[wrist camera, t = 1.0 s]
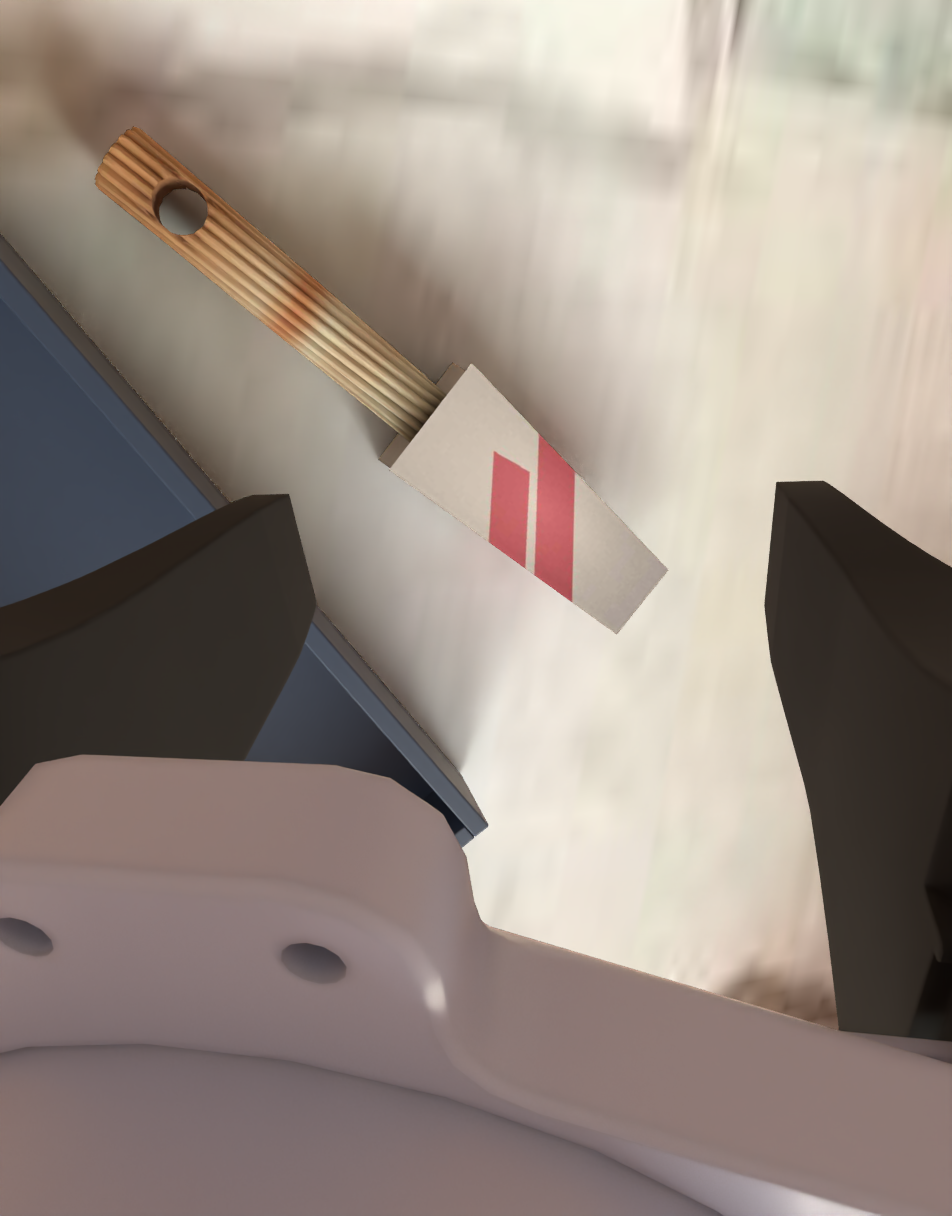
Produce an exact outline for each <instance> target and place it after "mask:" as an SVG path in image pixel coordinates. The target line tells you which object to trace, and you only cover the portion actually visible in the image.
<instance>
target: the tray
mask: <svg viewBox="0 0 952 1216" xmlns="http://www.w3.org/2000/svg"><path fill="white" fill-rule="evenodd" d="M228 504H230V503H229V501H228V500H227V499H226V498H225V497H224V496H223V494H222V493H221V492H220V491H219V490H218V488H217V487H216V486H215V485H214V484H213V483H212V481H211V480H210V479H209V478H208V477H207V476H206V474H205V473H204V472H203V471H202V470H201V468H200V467H199V466H198V465H197V464H196V463H195V461H194V460H193V459H192V458H191V457H190V456H189V454H188V453H187V452H186V451H185V450H184V449H183V447H182V446H181V445H180V444H179V443H178V441H177V440H176V439H175V438H174V437H173V436H172V434H171V433H170V432H169V431H168V430H167V429H166V427H165V426H164V425H163V424H162V423H161V421H160V420H159V419H158V418H157V417H156V416H155V414H154V413H153V412H152V411H151V410H150V409H149V407H148V406H147V405H146V404H145V403H144V402H143V400H142V399H141V398H140V397H139V396H138V394H137V393H136V392H135V391H134V390H133V389H132V387H131V386H130V385H129V384H128V383H127V382H126V380H125V379H124V378H123V377H122V376H121V375H120V373H119V372H118V371H117V370H116V369H115V367H114V366H113V365H112V364H111V363H110V362H109V360H108V359H107V358H106V357H105V356H104V355H103V353H102V352H101V351H100V350H99V349H98V347H97V346H96V345H95V344H94V343H93V342H92V340H91V339H90V338H89V337H88V336H87V335H86V333H85V332H84V331H83V330H82V329H81V328H80V326H79V325H78V324H77V323H76V322H75V320H74V319H73V318H72V317H71V316H70V315H69V313H68V312H67V311H66V310H65V309H64V308H63V306H62V305H61V304H60V303H59V302H58V300H57V299H56V298H55V297H54V296H53V295H52V293H51V292H50V291H49V290H48V289H47V288H46V286H45V285H44V284H43V283H42V282H41V281H40V279H39V278H38V277H37V276H36V275H35V273H34V272H33V271H32V270H31V269H30V268H29V266H28V265H27V264H26V263H25V262H24V261H23V259H22V258H21V257H20V256H19V255H18V253H17V252H16V251H15V250H14V249H13V248H12V246H11V245H10V244H9V243H8V242H7V241H6V239H5V238H4V237H3V236H2V235H1V234H0V607H3V606H6V605H9V604H13V603H15V602H18V601H21V600H24V599H27V598H29V597H32V596H35V595H37V594H40V593H42V592H45V591H48V590H50V589H53V588H55V587H58V586H61V585H63V584H65V583H68V582H70V581H73V580H75V579H77V578H80V577H82V576H84V575H86V574H89V573H91V572H93V571H95V570H97V569H99V568H101V567H104V566H106V565H108V564H110V563H112V562H114V561H116V560H118V559H120V558H122V557H124V556H126V555H128V554H130V553H133V552H135V551H137V550H139V549H141V548H143V547H145V546H147V545H149V544H151V543H153V542H155V541H157V540H159V539H161V538H162V537H164V536H166V535H168V534H170V533H172V532H174V531H176V530H178V529H180V528H182V527H184V526H186V525H187V524H189V523H191V522H193V521H195V520H197V519H199V518H201V517H203V516H205V515H207V514H209V513H211V512H213V511H215V510H217V509H219V508H221V507H223V506H225V505H228ZM244 761H251V762H275V763H299V764H323V765H337V766H341V767H345V768H349V769H354V770H358V771H362V772H366V773H371V774H375V775H379V776H384V777H388V778H391V779H393V780H394V781H396V782H397V783H398V784H400V785H401V786H403V787H404V788H406V789H407V790H409V791H410V792H412V793H413V794H415V795H416V796H418V797H419V798H421V799H422V800H424V801H425V802H427V803H428V804H430V805H431V806H432V807H434V808H435V809H437V810H438V811H439V812H441V813H442V814H443V815H444V817H445V819H446V821H447V823H448V824H449V826H450V828H451V830H452V832H453V833H454V835H455V837H456V839H457V841H458V842H459V844H460V846H461V848H462V847H464V846H465V845H466V844H467V843H469V842H470V841H471V840H472V839H473V838H474V836H477V835H478V834H479V833H481V832H482V831H483V830H484V829H486V828H487V827H488V823H487V821H486V819H485V818H484V816H483V814H482V812H481V810H480V808H479V807H478V805H477V803H476V801H475V799H474V797H473V796H472V794H471V792H470V790H469V788H468V786H467V785H466V783H465V781H464V779H463V777H462V775H461V774H460V773H459V772H458V770H457V769H456V768H455V767H454V766H453V765H452V763H451V762H450V761H449V760H448V759H447V758H446V756H445V755H444V754H443V753H442V752H441V750H440V749H439V748H438V747H437V746H436V745H435V743H434V742H433V741H432V740H431V739H430V738H429V736H428V735H427V734H426V733H425V732H424V730H423V729H422V728H421V727H420V726H419V725H418V723H417V722H416V721H415V720H414V719H413V718H412V716H411V715H410V714H409V713H408V712H407V711H406V709H405V708H404V707H403V706H402V705H401V703H400V702H399V701H398V700H397V699H396V698H395V696H394V695H393V694H392V693H391V692H390V691H389V689H388V688H387V687H386V686H385V685H384V683H383V682H382V681H381V680H380V679H379V678H378V676H377V675H376V674H375V673H374V672H373V671H372V669H371V668H370V667H369V666H368V665H367V664H366V662H365V661H364V660H363V659H362V658H361V656H360V655H359V654H358V653H357V652H356V651H355V649H354V648H353V647H352V646H351V645H350V644H349V642H348V641H347V640H346V639H345V638H344V637H343V635H342V634H341V633H340V632H339V631H338V629H337V628H336V627H335V626H334V625H333V624H332V622H331V621H330V620H329V619H328V618H327V617H326V615H325V614H324V613H323V612H322V611H321V609H320V608H319V607H318V606H316V609H315V612H314V616H313V619H312V622H311V625H310V628H309V632H308V634H307V637H306V640H305V643H304V646H303V648H302V651H301V654H300V656H299V658H298V660H297V662H296V664H295V666H294V668H293V670H292V672H291V674H290V676H289V678H288V680H287V682H286V684H285V685H284V687H283V689H282V691H281V693H280V695H279V697H278V699H277V701H276V703H275V704H274V706H273V708H272V710H271V712H270V714H269V716H268V717H267V719H266V721H265V723H264V725H263V727H262V729H261V731H260V732H259V734H258V736H257V738H256V740H255V742H254V744H253V745H252V747H251V749H250V751H249V753H248V755H247V757H246V759H245V760H244Z"/></svg>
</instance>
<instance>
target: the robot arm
mask: <svg viewBox="0 0 952 1216" xmlns="http://www.w3.org/2000/svg"><path fill="white" fill-rule="evenodd" d="M316 606H317V602H316V598H315V594H314V591H313V587H312V583H311V579H310V575H309V571H308V567H307V563H306V559H305V555H304V551H303V547H302V543H301V539H300V535H299V531H298V528H297V524H296V520H295V516H294V512H293V508H292V504H291V500H290V496H289V494H276V495H252V496H248V497H245V498H242V499H240V500H237V501H235V502H232V503H230V504H228V505H225V506H223V507H221V508H219V509H217V510H215V511H213V512H211V513H209V514H207V515H205V516H203V517H201V518H199V519H197V520H195V521H193V522H191V523H189V524H187V525H186V526H184V527H182V528H180V529H178V530H176V531H174V532H172V533H170V534H168V535H166V536H164V537H162V538H161V539H159V540H157V541H155V542H153V543H151V544H149V545H147V546H145V547H143V548H141V549H139V550H137V551H135V552H133V553H130V554H128V555H126V556H124V557H122V558H120V559H118V560H116V561H114V562H112V563H110V564H108V565H106V566H104V567H101V568H99V569H97V570H95V571H93V572H91V573H89V574H86V575H84V576H82V577H80V578H77V579H75V580H73V581H70V582H68V583H65V584H63V585H61V586H58V587H55V588H53V589H50V590H48V591H45V592H42V593H40V594H37V595H35V596H32V597H29V598H27V599H24V600H21V601H18V602H15V603H13V604H9V605H6V606H3V607H0V1216H952V567H950V566H948V565H947V564H945V563H943V562H941V561H940V560H938V559H936V558H935V557H933V556H931V555H930V554H928V553H926V552H925V551H923V550H922V549H920V548H919V547H917V546H916V545H914V544H912V543H911V542H909V541H908V540H906V539H905V538H903V537H902V536H900V535H899V534H897V533H896V532H895V531H893V530H892V529H890V528H889V527H887V526H886V525H885V524H883V523H882V522H880V521H879V520H878V519H876V518H875V517H874V516H872V515H871V514H869V513H868V512H867V511H865V510H864V509H863V508H861V507H860V506H859V505H857V504H856V503H855V502H853V501H852V500H851V499H849V498H848V497H847V496H845V495H844V494H842V493H841V492H840V491H838V490H837V489H835V488H834V487H833V486H831V485H830V484H828V483H826V482H824V481H797V482H776V491H775V502H774V512H773V522H772V532H771V543H770V553H769V563H768V574H767V584H766V594H765V605H764V606H765V615H766V624H767V633H768V642H769V650H770V658H771V663H772V667H773V671H774V675H775V679H776V683H777V686H778V690H779V694H780V697H781V701H782V705H783V709H784V712H785V716H786V719H787V723H788V727H789V730H790V734H791V738H792V741H793V745H794V748H795V752H796V756H797V759H798V763H799V767H800V770H801V774H802V777H803V781H804V785H805V789H806V794H807V799H808V803H809V808H810V812H811V819H812V826H813V832H814V839H815V846H816V853H817V859H818V866H819V873H820V880H821V888H822V895H823V903H824V910H825V918H826V925H827V933H828V940H829V949H830V957H831V966H832V974H833V983H834V991H835V1000H836V1008H837V1017H838V1025H839V1030H836V1029H833V1028H829V1027H826V1026H823V1025H819V1024H816V1023H812V1022H809V1021H806V1020H802V1019H799V1018H796V1017H792V1016H789V1015H786V1014H782V1013H779V1012H776V1011H772V1010H769V1009H765V1008H762V1007H759V1006H755V1005H752V1004H749V1003H745V1002H742V1001H739V1000H735V999H732V998H729V997H725V996H722V995H719V994H715V993H712V992H708V991H705V990H702V989H698V988H695V987H692V986H688V985H685V984H682V983H678V982H675V981H672V980H668V979H665V978H661V977H658V976H655V975H651V974H648V973H645V972H641V971H638V970H635V969H631V968H628V967H625V966H621V965H618V964H615V963H611V962H608V961H604V960H601V959H598V958H594V957H591V956H588V955H584V954H581V953H578V952H574V951H571V950H568V949H564V948H561V947H557V946H554V945H551V944H547V943H544V942H541V941H537V940H534V939H531V938H527V937H524V936H521V935H517V934H514V933H510V932H507V931H504V930H500V929H497V928H494V927H490V926H488V925H487V924H485V923H484V922H482V920H481V919H480V916H479V913H478V910H477V908H476V905H475V902H474V898H473V892H472V886H471V881H470V875H469V869H468V863H467V857H466V855H465V853H464V852H463V850H462V848H461V846H460V844H459V842H458V841H457V839H456V837H455V835H454V833H453V832H452V830H451V828H450V826H449V824H448V823H447V821H446V819H445V817H444V815H443V814H442V813H441V812H439V811H438V810H437V809H435V808H434V807H432V806H431V805H430V804H428V803H427V802H425V801H424V800H422V799H421V798H419V797H418V796H416V795H415V794H413V793H412V792H410V791H409V790H407V789H406V788H404V787H403V786H401V785H400V784H398V783H397V782H396V781H394V780H393V779H391V778H388V777H384V776H379V775H375V774H371V773H366V772H362V771H358V770H354V769H349V768H345V767H341V766H337V765H323V764H299V763H275V762H251V761H244V760H245V759H246V757H247V755H248V753H249V751H250V749H251V747H252V745H253V744H254V742H255V740H256V738H257V736H258V734H259V732H260V731H261V729H262V727H263V725H264V723H265V721H266V719H267V717H268V716H269V714H270V712H271V710H272V708H273V706H274V704H275V703H276V701H277V699H278V697H279V695H280V693H281V691H282V689H283V687H284V685H285V684H286V682H287V680H288V678H289V676H290V674H291V672H292V670H293V668H294V666H295V664H296V662H297V660H298V658H299V656H300V654H301V651H302V648H303V646H304V643H305V640H306V637H307V634H308V632H309V628H310V625H311V622H312V619H313V616H314V612H315V609H316Z"/></svg>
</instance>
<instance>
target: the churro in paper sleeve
mask: <svg viewBox="0 0 952 1216" xmlns="http://www.w3.org/2000/svg"><path fill="white" fill-rule="evenodd" d="M97 171H98V173H97V175H96V176H95V180H96V182H95V185H96V186H97V187H98V189H99V190H101V191H102V192H103V193H104V194H106V195H107V196H108V197H109V198H110V199H112V200H113V201H114V202H115V203H117V204H118V205H119V206H120V207H122V208H123V209H124V210H125V211H127V212H128V213H129V214H130V215H132V216H133V217H134V218H135V219H137V220H138V221H139V222H140V223H142V224H143V225H144V226H145V227H147V228H148V229H149V230H150V231H152V232H153V233H154V234H155V235H157V236H158V237H159V238H160V239H162V240H163V241H164V242H165V243H166V244H168V245H169V246H170V247H171V248H172V249H174V250H175V251H176V252H177V253H179V254H180V255H181V256H182V257H183V258H185V259H186V260H187V261H188V262H190V263H191V264H192V265H193V266H194V267H196V268H197V269H198V270H199V271H200V272H202V273H203V274H204V275H205V276H207V277H208V278H209V279H210V280H211V281H213V282H214V283H215V284H216V285H218V286H219V287H220V288H221V289H222V290H224V291H225V292H226V293H227V294H229V295H230V296H231V297H232V298H233V299H235V300H236V301H237V302H238V303H239V304H241V305H242V306H243V307H244V308H246V309H247V310H248V311H249V312H250V313H252V314H253V315H254V316H255V317H257V318H258V319H259V320H260V321H262V322H263V323H264V324H265V325H266V326H268V327H269V328H270V329H271V330H273V331H274V332H275V333H276V334H278V335H279V336H280V337H281V338H282V339H284V340H285V341H286V342H287V343H289V344H290V345H291V346H292V347H293V348H295V349H296V350H297V351H298V352H300V353H301V354H302V355H303V356H305V357H306V358H307V359H308V360H309V361H311V362H312V363H313V364H314V365H316V366H317V367H318V368H319V369H321V370H322V371H323V372H324V373H325V374H327V375H328V376H329V377H330V378H332V379H333V380H334V381H335V382H337V383H338V384H339V385H340V386H341V387H343V388H344V389H345V390H346V391H348V392H349V393H350V394H351V395H352V396H354V397H355V398H356V399H357V400H359V401H360V402H361V403H362V404H364V405H365V406H366V407H367V408H369V409H370V410H371V411H372V412H373V413H375V414H376V415H377V416H378V417H380V418H381V419H382V420H383V421H385V422H386V423H387V424H388V425H390V426H391V427H392V428H393V429H394V430H396V431H397V432H398V434H397V435H396V437H395V438H394V439H393V441H392V442H391V443H390V444H389V446H388V447H387V448H386V450H385V451H384V452H383V454H382V455H381V456H380V457H379V459H378V460H380V461H381V462H383V463H384V464H385V465H387V466H388V467H389V468H390V469H389V470H390V471H391V472H393V473H394V474H395V475H397V476H398V477H399V478H401V479H402V480H404V481H405V482H406V483H408V484H409V485H411V486H412V487H413V488H415V489H416V490H417V491H419V492H420V493H422V494H423V495H424V496H426V497H427V498H429V499H430V500H431V501H433V502H434V503H435V504H437V505H438V506H440V507H441V508H442V509H444V510H445V511H447V512H448V513H449V514H451V515H452V516H453V517H455V518H456V519H458V520H459V521H460V522H462V523H463V524H465V525H466V526H467V527H469V528H470V529H471V530H473V531H474V532H476V533H477V534H478V535H480V536H481V537H483V538H484V539H485V540H487V541H488V542H489V543H491V544H492V545H494V546H495V547H496V548H498V549H499V550H501V551H502V552H503V553H505V554H506V555H507V556H509V557H510V558H512V559H513V560H514V561H516V562H517V563H519V564H520V565H521V566H523V567H524V568H525V569H527V570H528V571H530V572H531V573H532V574H534V575H535V576H537V577H538V578H539V579H541V580H542V581H543V582H545V583H546V584H548V585H549V586H550V587H552V588H553V589H555V590H556V591H557V592H559V593H560V594H561V595H563V596H564V597H566V598H567V599H568V600H570V601H571V602H573V603H574V604H575V605H577V606H578V607H579V608H581V609H582V610H584V611H585V612H586V613H588V614H589V615H591V616H592V617H593V618H595V619H596V620H597V621H599V622H600V623H602V624H603V625H604V626H606V627H607V628H609V629H610V630H611V631H613V632H614V633H615V634H617V633H618V632H619V631H620V630H621V628H622V627H623V626H624V625H625V623H626V622H627V621H628V620H629V618H630V617H631V616H632V615H633V613H634V612H635V611H636V610H637V608H638V607H639V606H640V605H641V603H642V602H643V601H644V600H645V598H646V597H647V596H648V595H649V593H650V592H651V591H652V590H653V588H654V587H655V586H656V585H657V583H658V582H659V581H660V580H661V578H662V577H663V576H664V575H665V574H666V572H667V571H668V569H667V568H666V567H665V566H664V565H663V564H662V563H661V562H660V561H659V559H658V558H657V557H656V556H655V555H654V554H653V553H652V552H651V551H650V550H649V549H648V548H647V547H646V546H645V545H644V544H643V543H642V542H641V541H640V539H639V538H638V537H637V536H636V535H635V534H634V533H633V532H632V531H631V530H630V529H629V528H628V527H627V526H626V525H625V524H624V523H623V522H622V521H621V519H620V518H619V517H618V516H617V515H616V514H615V513H614V512H613V511H612V510H611V509H610V508H609V507H608V506H607V505H606V504H605V503H604V502H603V501H602V499H601V498H600V497H599V496H598V495H597V494H596V493H595V492H594V491H593V490H592V489H591V488H590V487H589V486H588V485H587V484H586V483H585V482H584V481H583V479H582V478H581V477H580V476H579V475H578V474H577V473H576V472H575V471H574V470H573V469H572V468H571V467H570V466H569V465H568V464H567V463H566V462H565V461H564V459H563V458H562V457H561V456H560V455H559V454H558V453H557V452H556V451H555V450H554V449H553V448H552V447H551V446H550V445H549V444H548V443H547V442H546V441H545V439H544V438H543V437H542V436H541V435H540V434H539V433H538V432H537V431H536V430H535V429H534V428H533V427H532V426H531V425H530V424H529V423H528V422H527V421H526V419H525V418H524V417H523V416H522V415H521V414H520V413H519V412H518V411H517V410H516V409H515V408H514V407H513V406H512V405H511V404H510V403H509V402H508V401H507V400H506V398H505V397H504V396H503V395H502V394H501V393H500V392H499V391H498V390H497V389H496V388H495V387H494V386H493V385H492V384H491V383H490V382H489V381H488V380H487V378H486V377H485V376H484V375H483V374H482V373H481V372H480V371H479V370H478V369H477V368H476V367H475V366H474V365H473V364H472V363H471V365H470V366H469V367H468V369H467V370H466V371H465V370H464V369H462V368H460V367H459V366H457V365H456V364H454V363H452V364H451V365H450V367H449V368H448V369H447V370H446V372H445V373H444V374H443V376H442V377H441V378H440V380H439V381H438V382H437V383H436V385H435V384H434V383H433V382H431V381H430V380H429V379H428V378H427V377H426V376H425V375H424V374H423V373H422V372H420V371H419V370H418V369H417V368H416V367H415V366H414V365H412V364H411V363H410V362H409V361H408V360H407V359H406V358H404V357H403V356H402V355H401V354H400V353H399V352H398V351H397V350H395V349H394V348H393V347H392V346H391V345H390V344H389V343H387V342H386V341H385V340H384V339H383V338H382V337H381V336H379V335H378V334H377V333H376V332H375V331H374V330H373V329H371V328H370V327H369V326H368V325H367V324H366V323H365V322H363V321H362V320H361V319H360V318H359V317H358V316H357V315H355V314H354V313H353V312H352V311H351V310H350V309H349V308H347V307H346V306H345V305H344V304H343V303H342V302H340V301H339V300H338V299H337V298H336V297H335V296H334V295H332V294H331V293H330V292H329V291H328V290H327V289H325V288H324V287H323V286H322V285H321V284H320V283H318V282H317V281H316V280H315V279H314V278H313V277H312V276H310V275H309V274H308V273H307V272H306V271H305V270H303V269H302V268H301V267H300V266H299V265H298V264H296V263H295V262H294V261H293V260H292V259H291V258H290V257H288V256H287V255H286V254H285V253H284V252H283V251H281V250H280V249H279V248H278V247H277V246H276V245H274V244H273V243H272V242H271V241H270V240H269V239H268V238H266V237H265V236H264V235H263V234H262V233H261V232H259V231H258V230H257V229H256V228H255V227H254V226H252V225H251V224H250V223H249V222H248V221H247V220H246V219H244V218H243V217H242V216H241V215H240V214H239V213H237V212H236V211H235V210H234V209H233V208H232V207H230V206H229V205H228V204H227V203H226V202H225V201H224V200H222V199H221V198H220V197H219V196H218V195H217V194H215V193H214V192H213V191H212V190H211V189H210V188H209V187H207V186H206V185H205V184H204V183H203V182H202V181H200V180H199V179H198V178H197V177H196V176H195V175H193V174H192V173H191V172H190V171H189V170H188V169H187V168H185V167H184V166H183V165H182V164H181V163H180V162H178V161H177V160H176V159H175V158H174V157H173V156H171V155H170V154H169V153H168V152H167V151H166V150H165V149H163V148H162V147H161V146H160V145H159V144H158V143H156V142H155V141H154V140H153V139H152V138H151V137H149V136H148V135H147V134H146V133H145V132H144V131H143V130H141V129H140V128H137V127H134V126H133V127H132V129H131V130H130V129H128V130H126V132H125V133H124V135H123V134H122V135H121V136H120V137H119V138H118V140H117V142H116V143H114V144H113V145H112V146H111V148H110V150H109V152H108V153H107V154H106V155H105V157H104V158H103V162H102V164H101V165H100V166H99V167H98V170H97ZM186 188H188V189H190V190H192V191H194V192H196V193H198V194H199V195H200V196H201V197H202V198H203V199H204V200H205V201H206V203H207V206H208V216H207V218H206V221H205V223H204V225H203V227H201V228H200V229H199V230H197V231H196V232H195V233H194V234H189V235H177V234H173V233H171V232H170V231H168V230H167V229H166V228H165V227H164V226H163V225H162V223H161V221H160V216H159V206H160V204H161V203H162V200H163V198H164V196H166V195H167V194H169V193H170V192H171V191H172V190H175V189H186Z"/></svg>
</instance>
